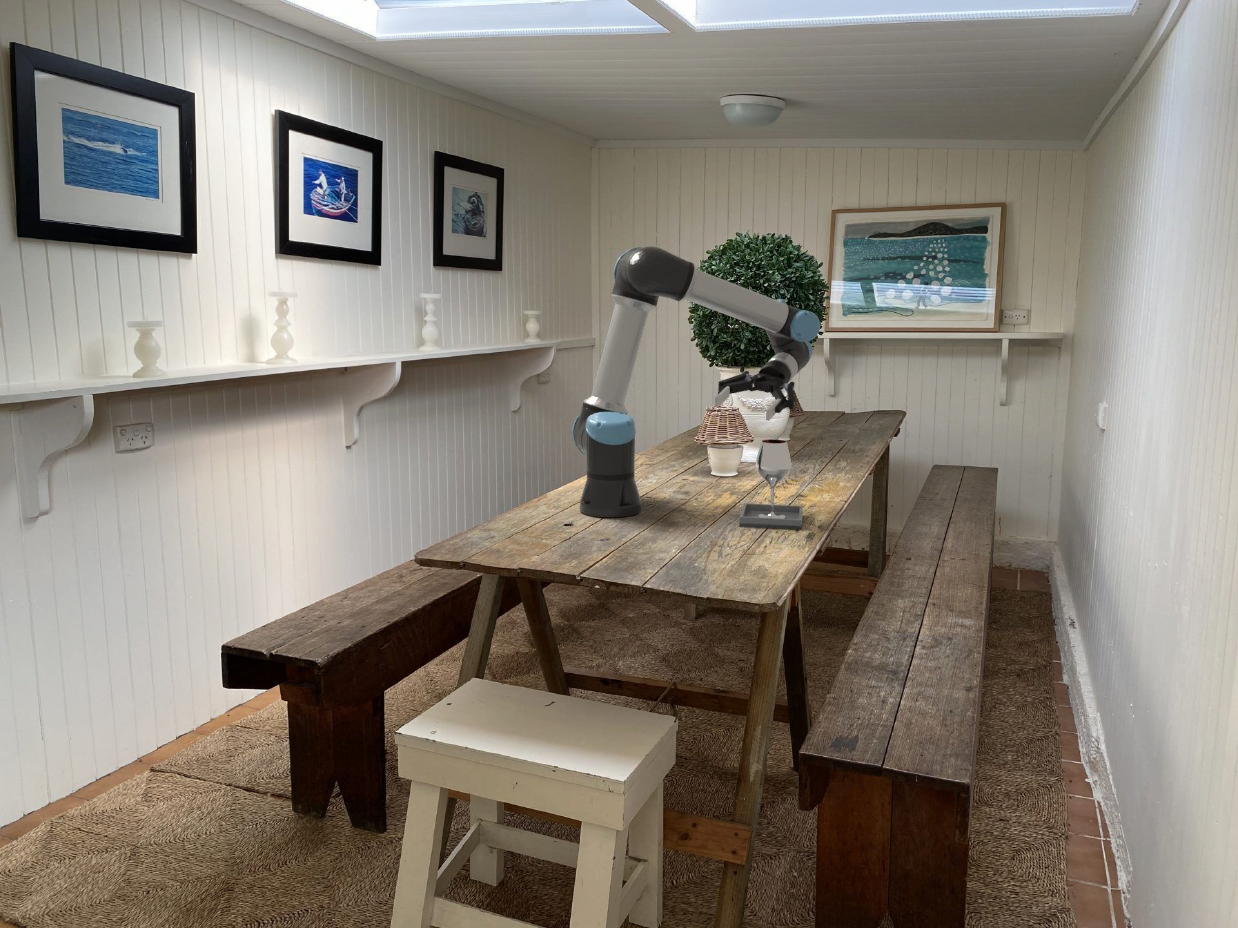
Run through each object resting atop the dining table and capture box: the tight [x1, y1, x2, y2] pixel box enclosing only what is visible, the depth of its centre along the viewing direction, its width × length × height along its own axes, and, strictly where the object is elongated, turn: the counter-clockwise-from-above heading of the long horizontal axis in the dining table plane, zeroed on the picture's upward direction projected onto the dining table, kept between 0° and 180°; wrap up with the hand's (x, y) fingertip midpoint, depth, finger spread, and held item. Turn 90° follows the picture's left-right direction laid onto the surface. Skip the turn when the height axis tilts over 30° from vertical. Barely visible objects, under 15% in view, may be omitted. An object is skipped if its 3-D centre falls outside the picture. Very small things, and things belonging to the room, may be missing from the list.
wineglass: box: [755, 438, 792, 519], centre depth 221 cm, size 8×8×18 cm
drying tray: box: [738, 502, 804, 530], centre depth 223 cm, size 14×14×2 cm
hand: (741, 409), depth 229 cm, fingers open, 13 cm apart
